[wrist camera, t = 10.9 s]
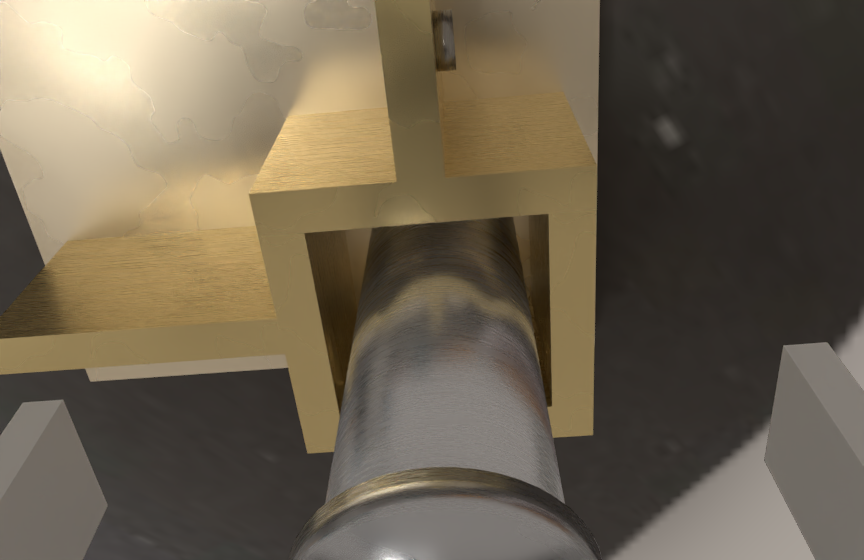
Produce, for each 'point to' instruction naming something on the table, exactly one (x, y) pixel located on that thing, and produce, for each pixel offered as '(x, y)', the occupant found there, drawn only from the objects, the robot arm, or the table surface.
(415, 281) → the pin
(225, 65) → the open box on plate
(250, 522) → the table surface
